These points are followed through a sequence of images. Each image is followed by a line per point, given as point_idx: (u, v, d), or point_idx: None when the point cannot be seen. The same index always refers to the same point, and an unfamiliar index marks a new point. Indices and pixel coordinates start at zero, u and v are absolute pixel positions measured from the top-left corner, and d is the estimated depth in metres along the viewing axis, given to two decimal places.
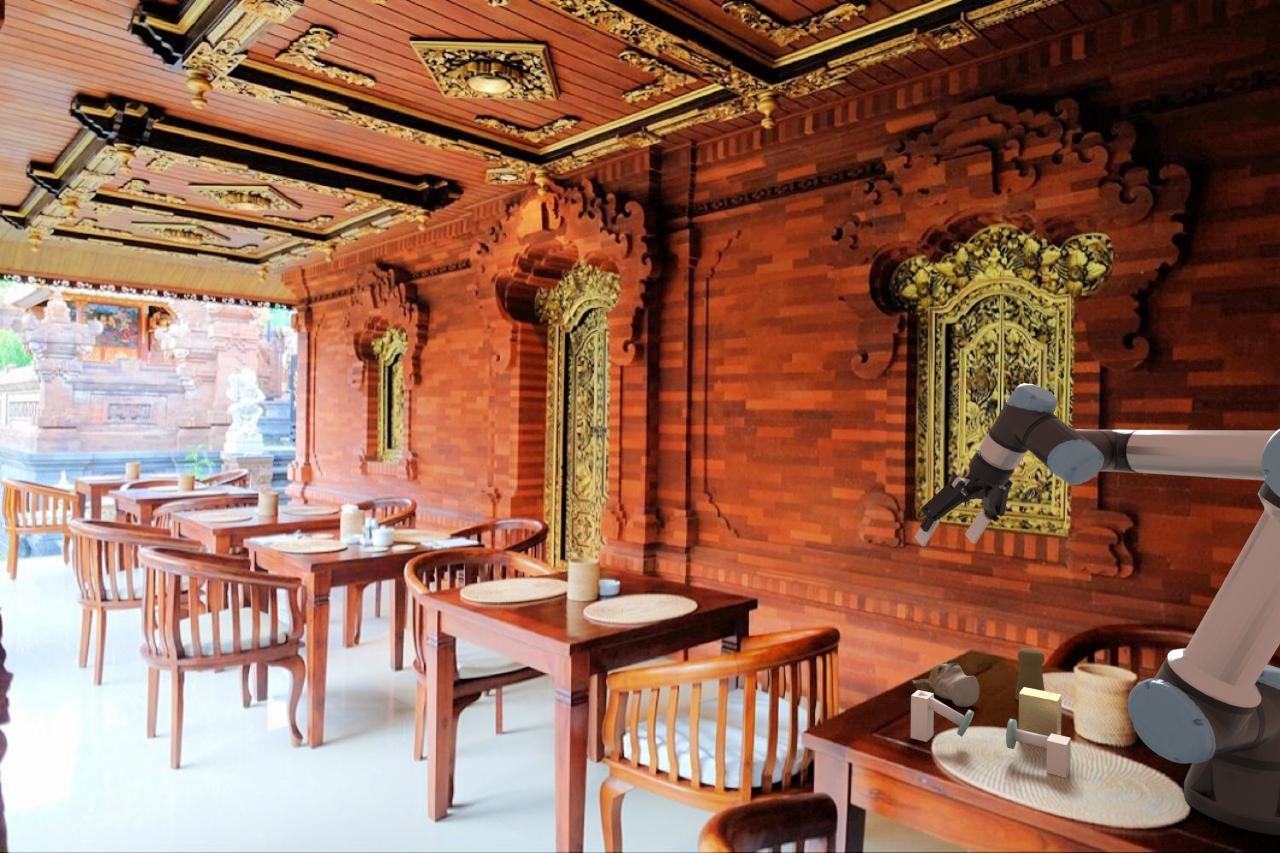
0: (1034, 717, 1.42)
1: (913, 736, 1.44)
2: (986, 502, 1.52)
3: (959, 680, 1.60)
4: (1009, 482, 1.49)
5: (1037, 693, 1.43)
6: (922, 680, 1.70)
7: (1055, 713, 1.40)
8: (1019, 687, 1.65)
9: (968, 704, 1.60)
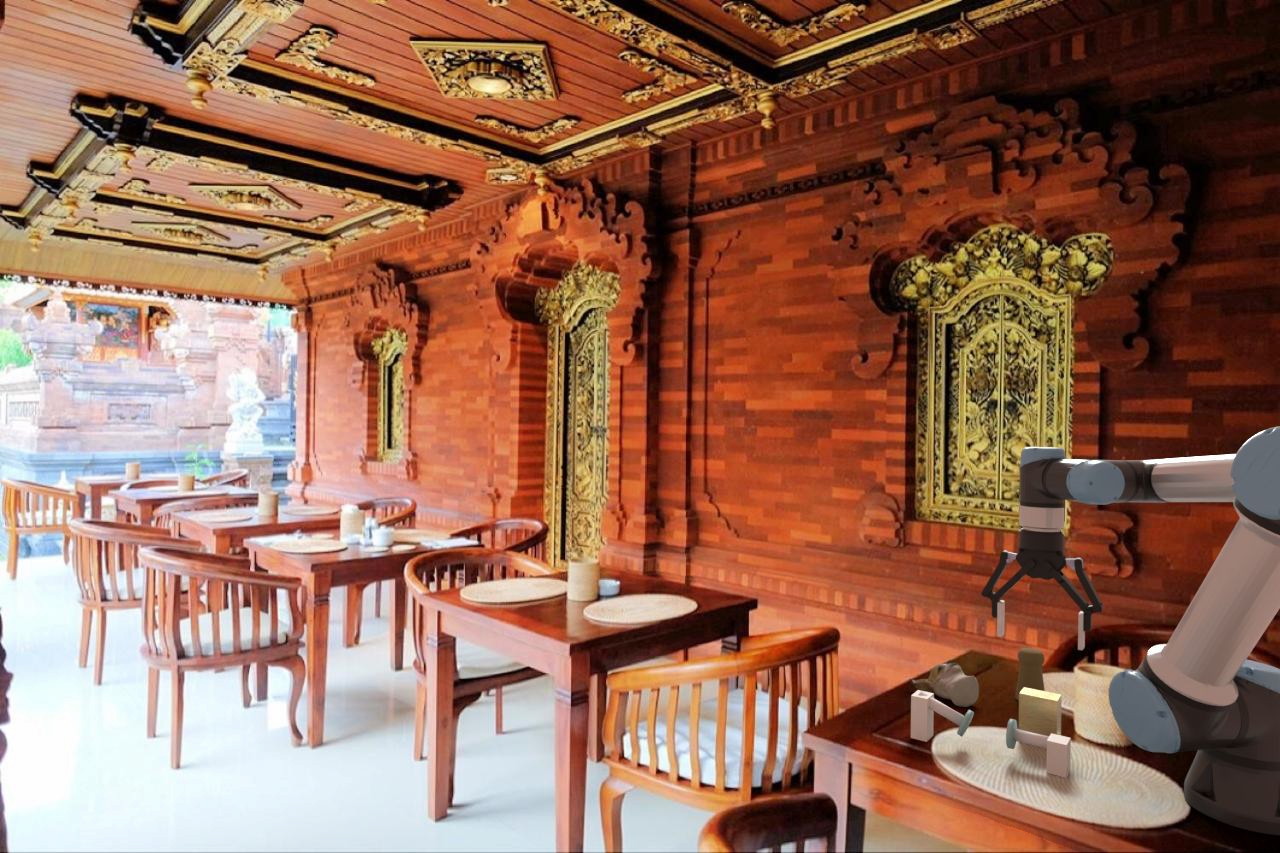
0: (1034, 717, 1.42)
1: (913, 736, 1.44)
2: None
3: (959, 680, 1.60)
4: (1075, 559, 1.39)
5: (1037, 693, 1.43)
6: (922, 680, 1.70)
7: (1055, 713, 1.40)
8: (1019, 687, 1.65)
9: (968, 704, 1.60)
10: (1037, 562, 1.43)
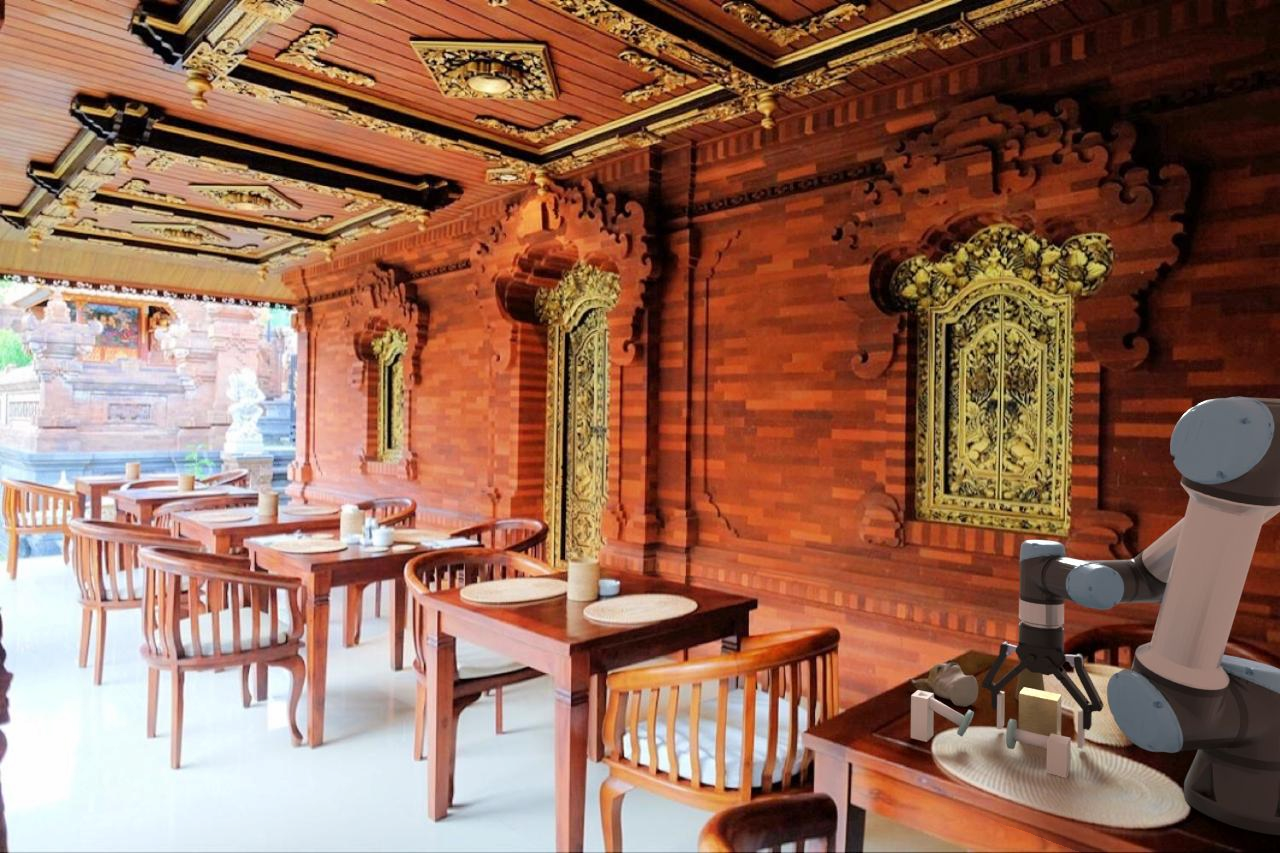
0: (1034, 717, 1.42)
1: (913, 736, 1.44)
2: None
3: (958, 680, 1.60)
4: (1075, 657, 1.39)
5: (1037, 693, 1.43)
6: (921, 680, 1.70)
7: (1055, 713, 1.40)
8: (1019, 687, 1.65)
9: (967, 704, 1.60)
10: (1037, 657, 1.43)
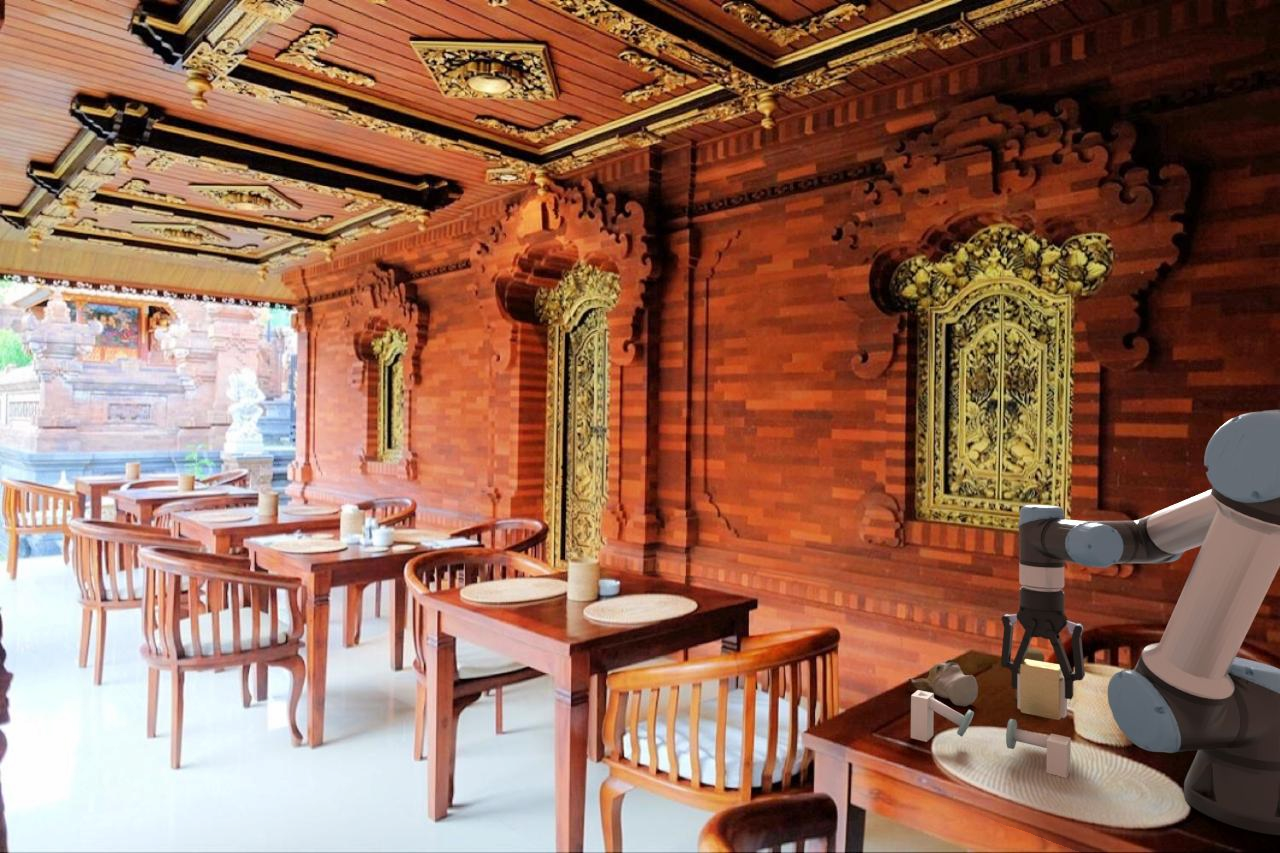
0: (1036, 687, 1.41)
1: (913, 736, 1.44)
2: None
3: (958, 679, 1.60)
4: (1077, 625, 1.39)
5: (1038, 664, 1.43)
6: (921, 679, 1.70)
7: (1057, 683, 1.39)
8: None
9: (966, 703, 1.60)
10: (1037, 619, 1.43)
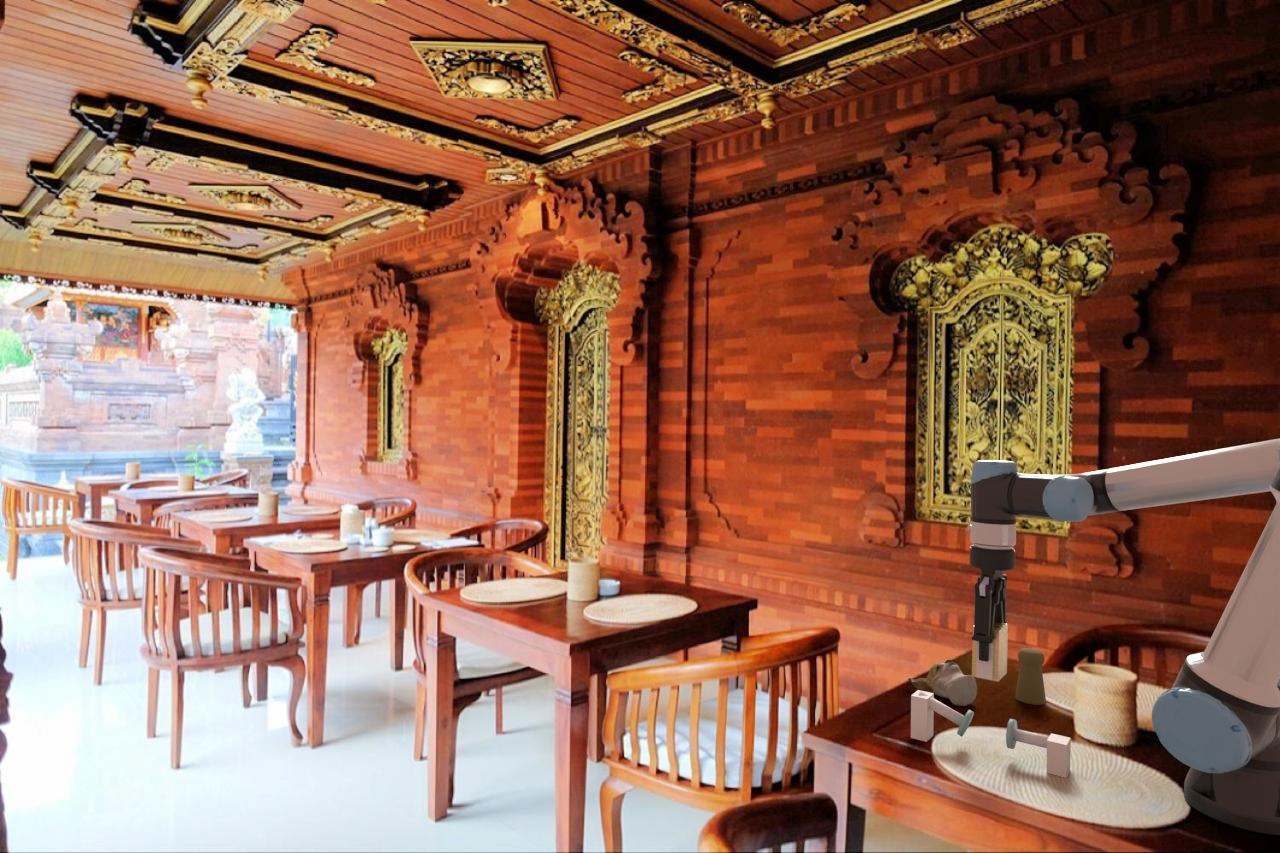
0: (1002, 649, 1.36)
1: (913, 736, 1.44)
2: (995, 608, 1.39)
3: (957, 679, 1.60)
4: (1005, 575, 1.42)
5: None
6: (920, 679, 1.70)
7: (1007, 636, 1.39)
8: (1019, 687, 1.65)
9: (966, 703, 1.61)
10: (997, 579, 1.36)
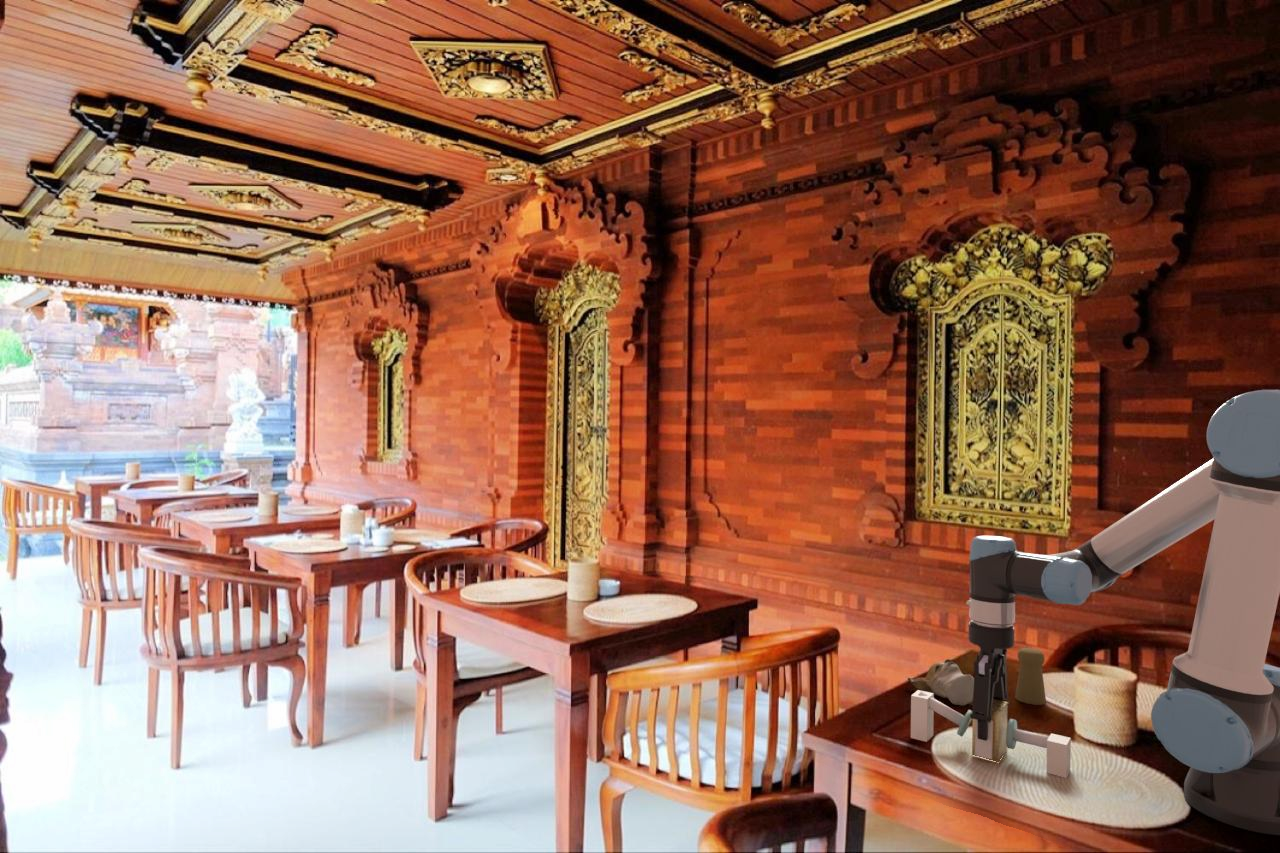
0: (1002, 729, 1.36)
1: (913, 736, 1.44)
2: (995, 683, 1.40)
3: (956, 679, 1.61)
4: (1005, 648, 1.41)
5: None
6: (920, 678, 1.71)
7: (1006, 715, 1.38)
8: (1019, 687, 1.65)
9: (965, 703, 1.61)
10: (997, 657, 1.36)
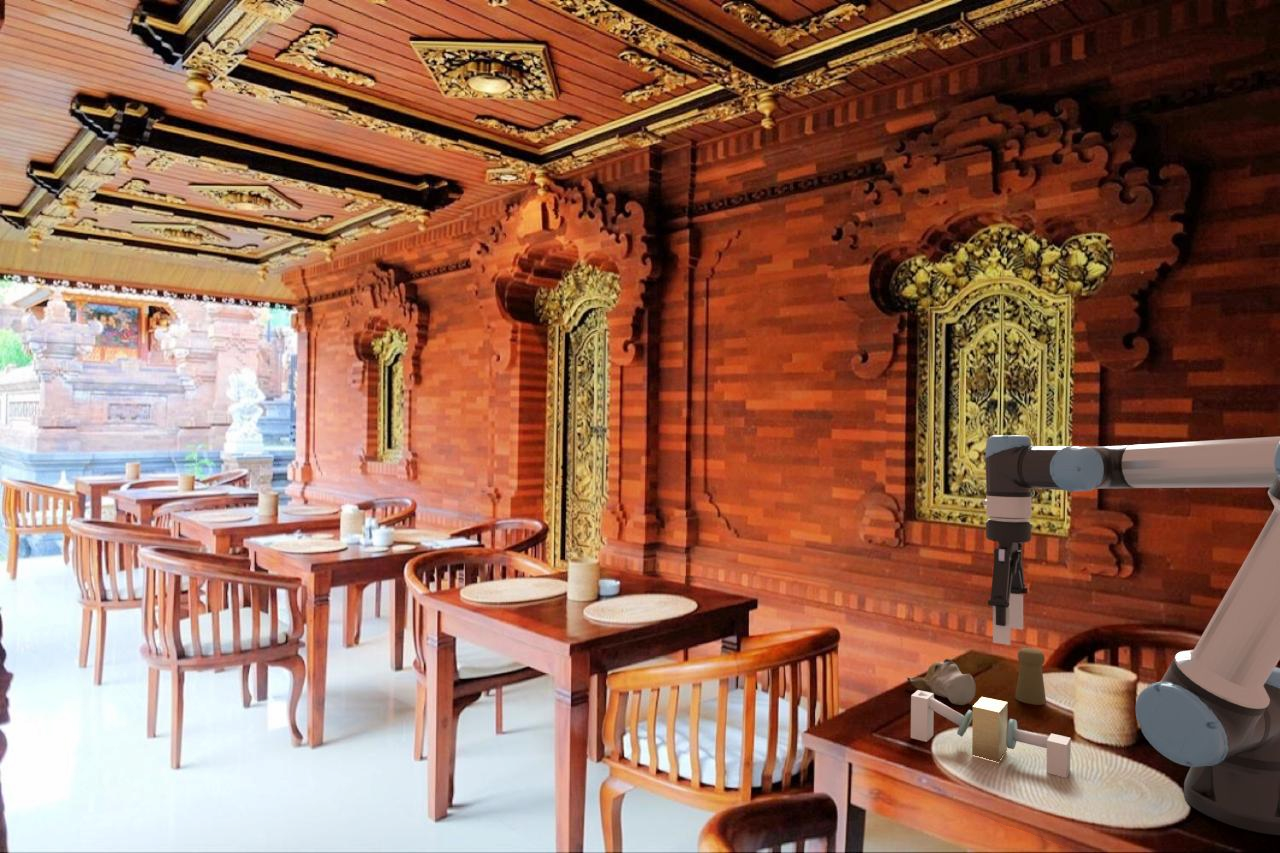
0: (1002, 729, 1.36)
1: (913, 736, 1.44)
2: (1014, 576, 1.43)
3: (955, 678, 1.61)
4: (1020, 543, 1.44)
5: (991, 705, 1.37)
6: (919, 678, 1.71)
7: (1006, 715, 1.38)
8: (1019, 687, 1.65)
9: (964, 702, 1.61)
10: None
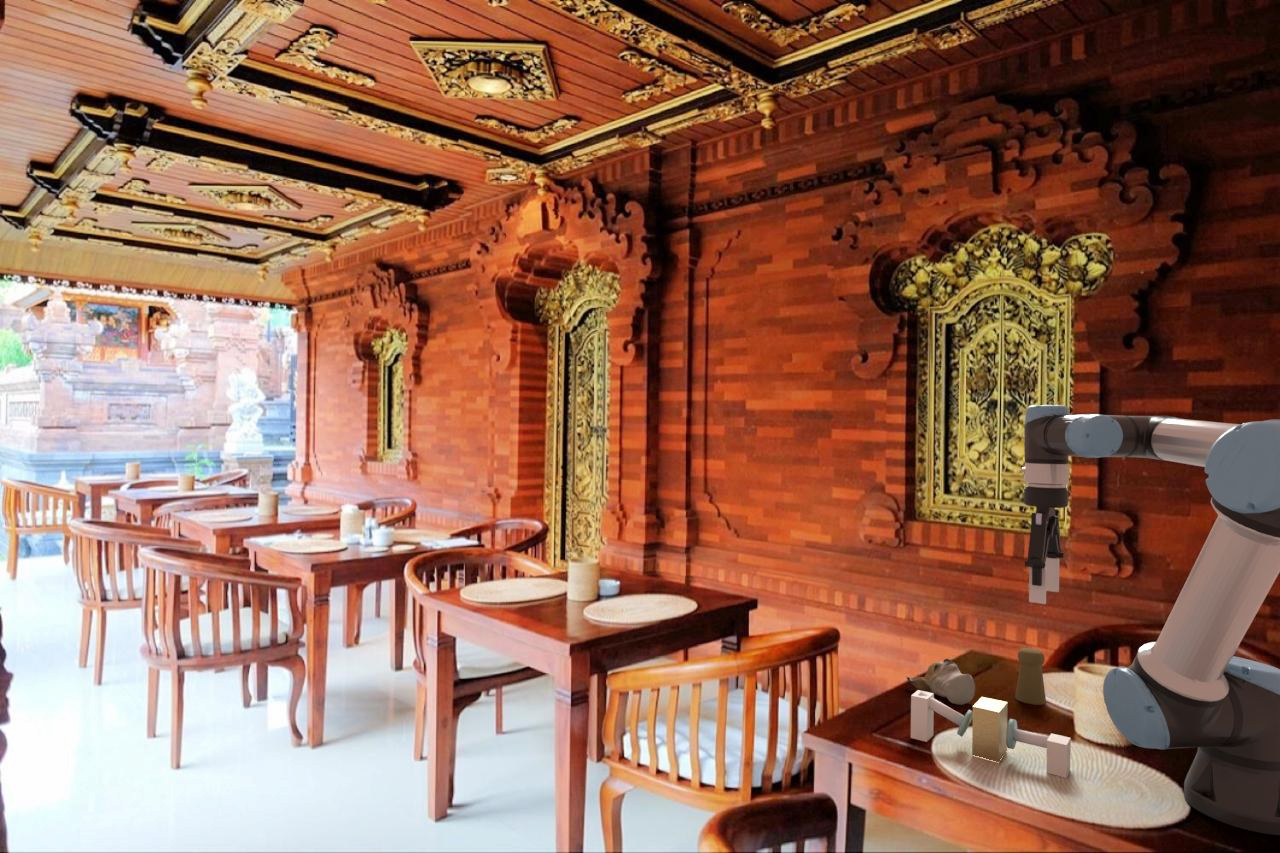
0: (1002, 729, 1.36)
1: (913, 736, 1.44)
2: (1050, 540, 1.49)
3: (954, 678, 1.61)
4: (1057, 510, 1.50)
5: (991, 705, 1.37)
6: (919, 678, 1.71)
7: (1006, 715, 1.38)
8: (1019, 687, 1.65)
9: (963, 702, 1.61)
10: None
